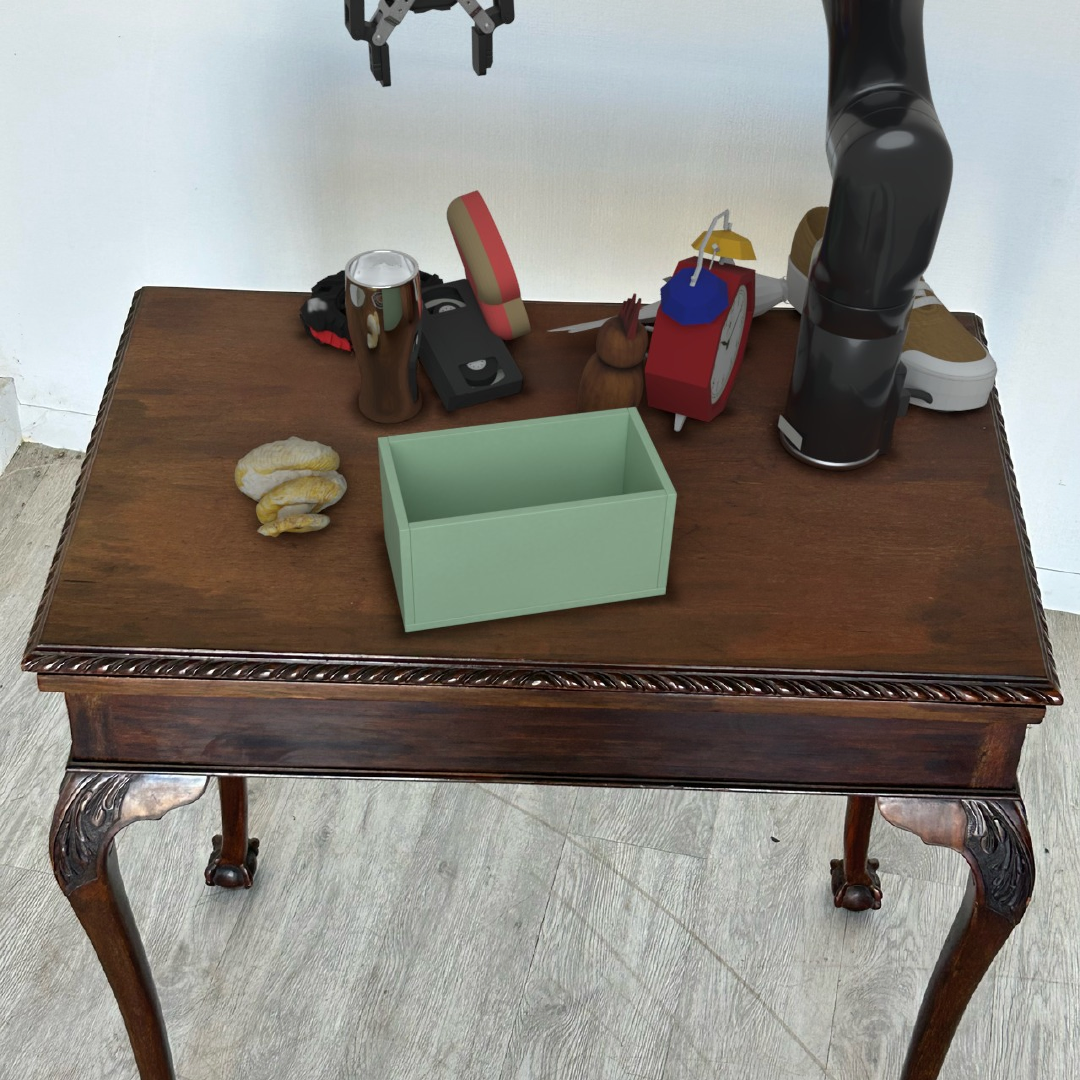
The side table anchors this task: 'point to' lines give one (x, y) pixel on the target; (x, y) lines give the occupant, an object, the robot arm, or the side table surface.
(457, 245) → the decorative object
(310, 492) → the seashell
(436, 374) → the vhs tape
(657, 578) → the bin
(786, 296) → the fish
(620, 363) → the wooden figurine
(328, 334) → the toy
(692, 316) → the alarm clock
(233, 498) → the side table surface
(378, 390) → the beer glass
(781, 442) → the robot arm
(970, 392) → the sneaker
